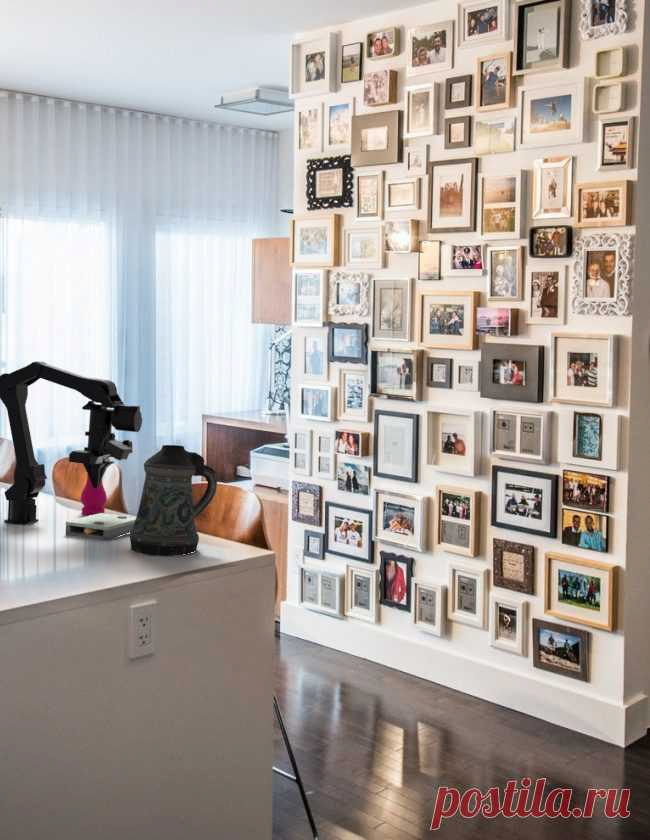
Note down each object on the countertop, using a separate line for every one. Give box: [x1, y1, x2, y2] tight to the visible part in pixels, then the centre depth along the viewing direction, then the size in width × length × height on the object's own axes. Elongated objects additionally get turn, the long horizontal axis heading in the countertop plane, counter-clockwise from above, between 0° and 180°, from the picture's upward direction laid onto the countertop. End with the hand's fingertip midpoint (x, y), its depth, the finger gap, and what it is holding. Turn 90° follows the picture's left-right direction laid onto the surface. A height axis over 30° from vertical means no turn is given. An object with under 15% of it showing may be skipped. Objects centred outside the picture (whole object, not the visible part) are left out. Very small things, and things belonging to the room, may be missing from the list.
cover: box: [65, 512, 137, 530], centre depth 259 cm, size 12×16×1 cm
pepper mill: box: [80, 470, 108, 516], centre depth 285 cm, size 7×7×20 cm
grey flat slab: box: [65, 523, 134, 541], centre depth 259 cm, size 12×16×2 cm
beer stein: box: [129, 444, 218, 557], centre depth 243 cm, size 16×19×25 cm
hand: (95, 488), depth 263 cm, fingers closed
